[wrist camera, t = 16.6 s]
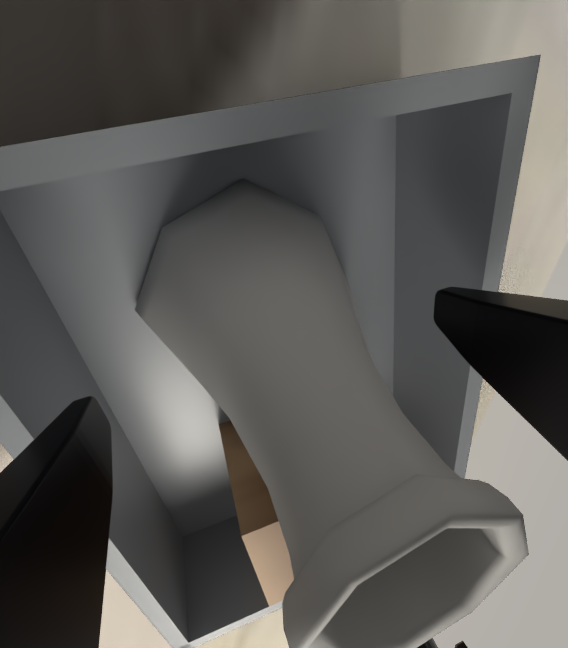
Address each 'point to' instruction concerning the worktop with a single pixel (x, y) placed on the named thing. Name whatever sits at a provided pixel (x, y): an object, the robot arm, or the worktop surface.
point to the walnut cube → (257, 518)
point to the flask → (324, 428)
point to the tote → (163, 366)
